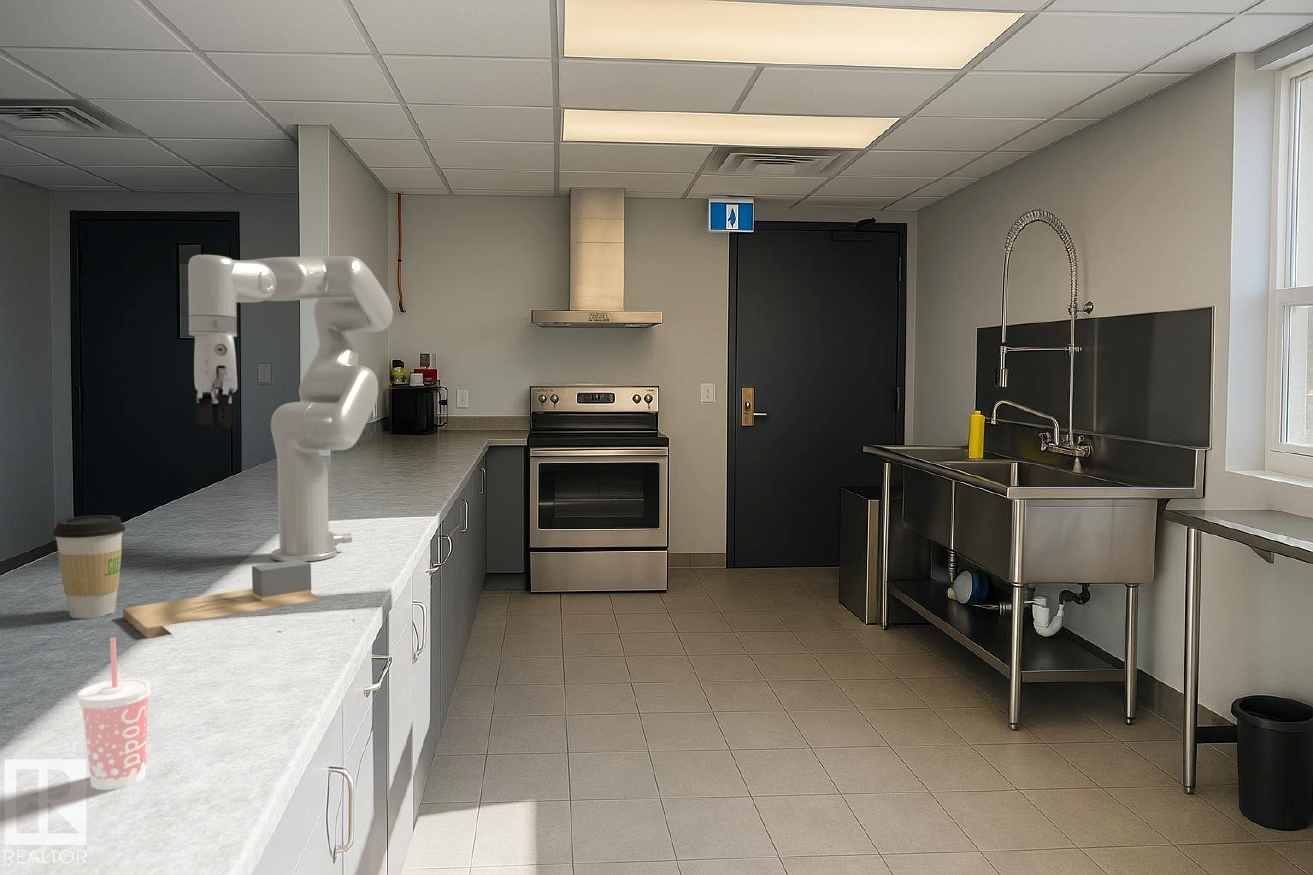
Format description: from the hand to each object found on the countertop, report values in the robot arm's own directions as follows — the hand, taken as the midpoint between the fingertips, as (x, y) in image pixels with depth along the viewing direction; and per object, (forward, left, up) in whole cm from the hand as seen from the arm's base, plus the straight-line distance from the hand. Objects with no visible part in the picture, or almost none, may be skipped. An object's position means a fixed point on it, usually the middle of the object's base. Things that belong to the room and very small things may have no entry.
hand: (214, 425), depth 164 cm
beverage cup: (+32, +73, -29) cm, 85 cm away
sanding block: (-4, +18, -27) cm, 33 cm away
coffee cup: (+21, +5, -29) cm, 36 cm away
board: (+5, +18, -29) cm, 34 cm away
